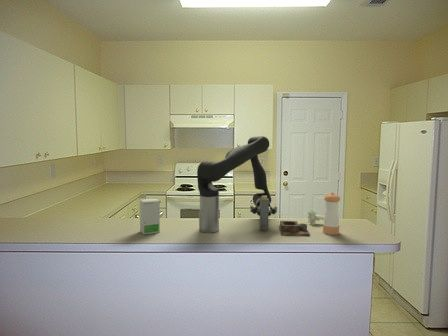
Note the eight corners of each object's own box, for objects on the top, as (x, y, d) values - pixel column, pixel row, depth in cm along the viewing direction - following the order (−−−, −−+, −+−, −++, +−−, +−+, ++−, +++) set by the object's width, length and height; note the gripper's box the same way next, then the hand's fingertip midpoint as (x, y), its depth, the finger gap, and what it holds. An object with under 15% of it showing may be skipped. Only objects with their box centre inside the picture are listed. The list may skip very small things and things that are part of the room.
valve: (308, 225, 162) (332, 226, 160) (308, 212, 162) (333, 213, 160) (307, 221, 169) (330, 222, 167) (307, 209, 168) (331, 210, 166)
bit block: (280, 235, 147) (281, 226, 146) (278, 227, 159) (278, 219, 158) (309, 235, 146) (309, 227, 145) (305, 228, 157) (305, 220, 157)
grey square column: (259, 228, 151) (260, 196, 149) (259, 226, 155) (260, 195, 153) (268, 229, 151) (268, 196, 149) (267, 226, 155) (268, 195, 153)
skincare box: (143, 235, 147) (141, 202, 145) (139, 231, 153) (138, 199, 151) (160, 232, 151) (159, 200, 149) (156, 228, 157) (156, 197, 155)
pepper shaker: (335, 236, 146) (336, 195, 143) (320, 232, 150) (321, 192, 148) (341, 232, 151) (343, 192, 149) (326, 229, 156) (328, 190, 154)
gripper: (249, 198, 166) (249, 205, 149) (276, 199, 165) (279, 206, 148) (249, 212, 167) (249, 221, 150) (276, 213, 166) (279, 222, 149)
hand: (264, 214), depth 149 cm, fingers closed on grey square column, 4 cm apart
